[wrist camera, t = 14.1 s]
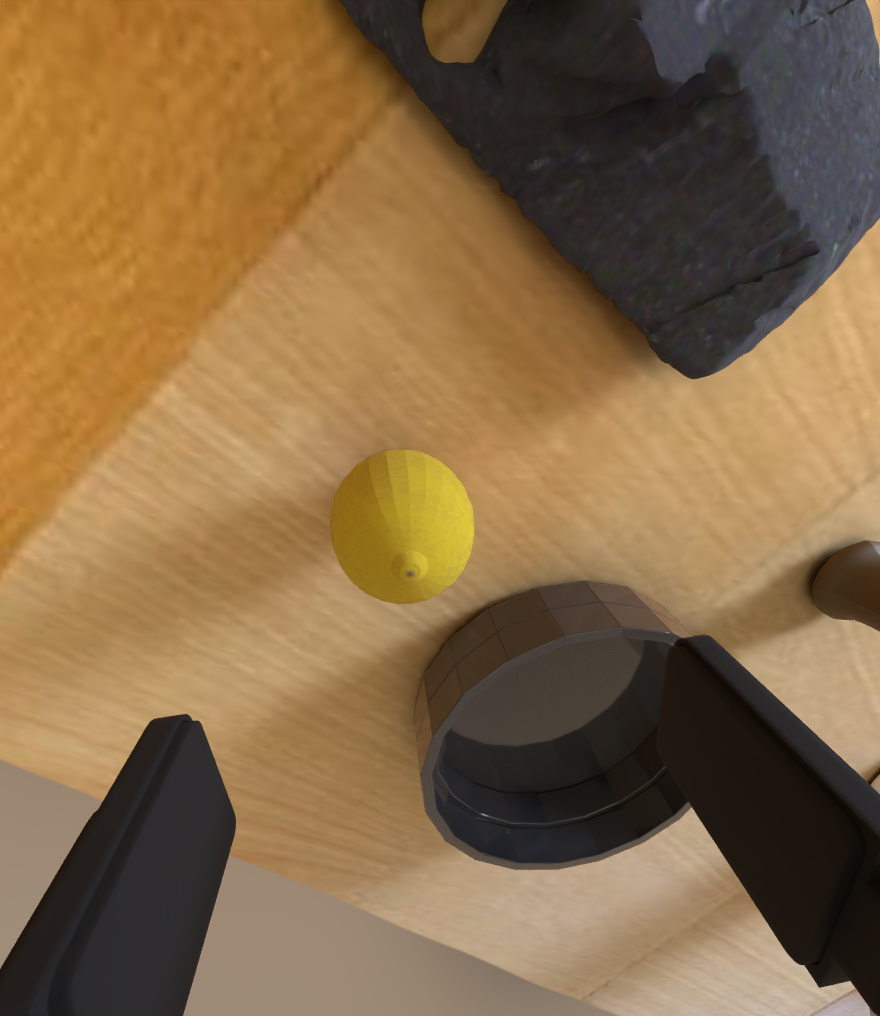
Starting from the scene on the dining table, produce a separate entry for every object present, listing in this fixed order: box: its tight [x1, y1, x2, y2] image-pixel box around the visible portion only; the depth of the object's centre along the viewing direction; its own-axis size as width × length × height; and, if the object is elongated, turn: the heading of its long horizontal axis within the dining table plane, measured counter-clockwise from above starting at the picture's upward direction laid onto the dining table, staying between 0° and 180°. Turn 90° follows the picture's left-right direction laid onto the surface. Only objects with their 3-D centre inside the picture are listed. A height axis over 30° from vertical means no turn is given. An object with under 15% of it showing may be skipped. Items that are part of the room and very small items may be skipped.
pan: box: [414, 581, 693, 870], centre depth 26 cm, size 17×17×4 cm
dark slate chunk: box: [340, 0, 880, 379], centre depth 15 cm, size 15×22×5 cm
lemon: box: [330, 449, 474, 604], centre depth 18 cm, size 6×6×8 cm
